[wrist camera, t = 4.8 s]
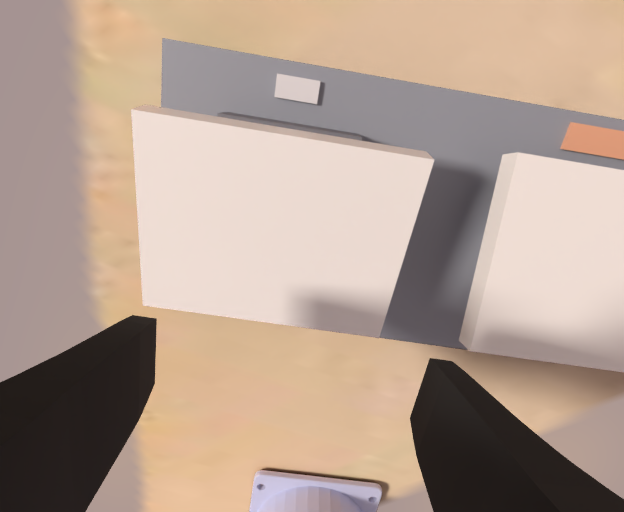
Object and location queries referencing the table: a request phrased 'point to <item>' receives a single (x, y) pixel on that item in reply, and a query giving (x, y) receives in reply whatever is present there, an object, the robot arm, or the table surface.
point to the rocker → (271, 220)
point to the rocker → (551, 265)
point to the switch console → (407, 134)
